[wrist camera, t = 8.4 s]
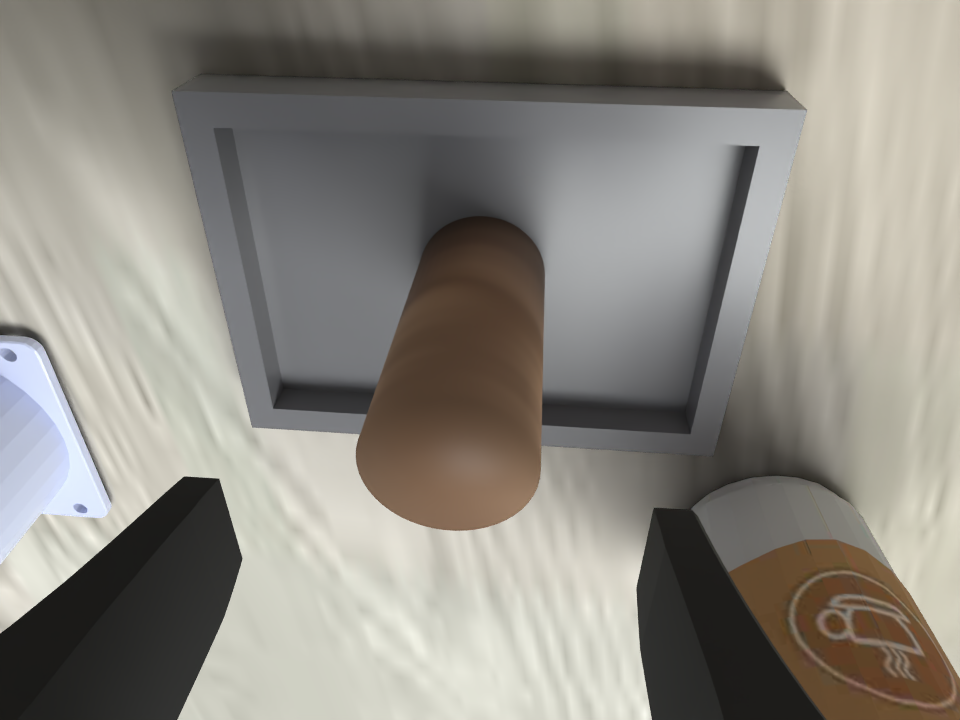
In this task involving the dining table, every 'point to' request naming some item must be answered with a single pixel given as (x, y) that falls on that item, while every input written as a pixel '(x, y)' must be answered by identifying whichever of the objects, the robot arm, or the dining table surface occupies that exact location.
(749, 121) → the tray
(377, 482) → the dowel
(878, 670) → the coffee cup
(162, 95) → the dining table surface
